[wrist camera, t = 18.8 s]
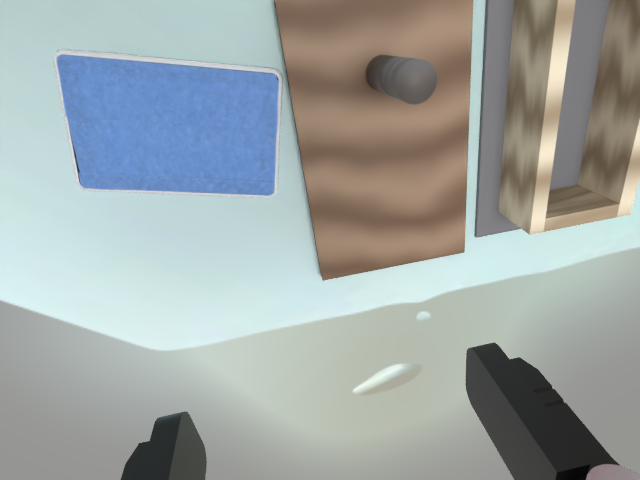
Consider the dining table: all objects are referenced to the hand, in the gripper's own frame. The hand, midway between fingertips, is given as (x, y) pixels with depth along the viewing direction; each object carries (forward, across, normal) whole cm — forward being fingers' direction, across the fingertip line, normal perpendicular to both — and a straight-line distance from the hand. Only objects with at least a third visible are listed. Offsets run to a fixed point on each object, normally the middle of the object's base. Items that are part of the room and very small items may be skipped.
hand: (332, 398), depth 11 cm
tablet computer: (+32, +9, -2) cm, 34 cm away
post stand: (+31, -10, +3) cm, 33 cm away
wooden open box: (+31, -29, +1) cm, 42 cm away
